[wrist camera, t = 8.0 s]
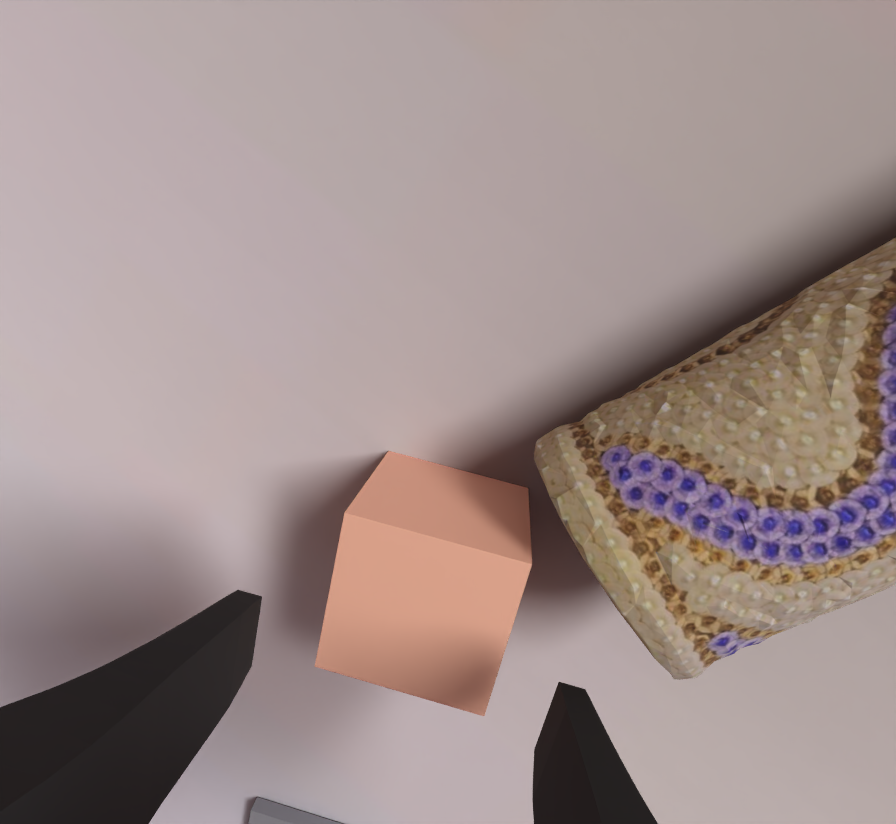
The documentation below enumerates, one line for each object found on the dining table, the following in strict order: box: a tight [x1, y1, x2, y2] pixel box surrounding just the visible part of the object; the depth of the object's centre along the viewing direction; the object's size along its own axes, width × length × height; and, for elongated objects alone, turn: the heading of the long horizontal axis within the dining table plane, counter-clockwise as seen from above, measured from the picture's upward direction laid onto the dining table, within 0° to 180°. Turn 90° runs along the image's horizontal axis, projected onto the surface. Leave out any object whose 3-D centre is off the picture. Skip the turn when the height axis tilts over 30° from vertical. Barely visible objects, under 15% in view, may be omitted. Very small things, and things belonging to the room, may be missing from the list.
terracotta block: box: [315, 451, 532, 716], centre depth 17 cm, size 5×5×5 cm
